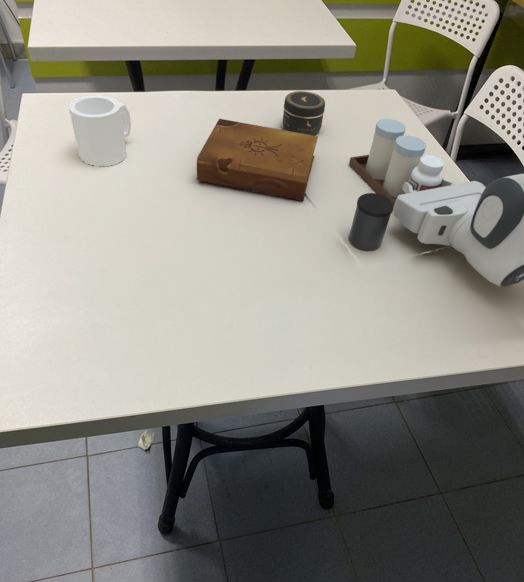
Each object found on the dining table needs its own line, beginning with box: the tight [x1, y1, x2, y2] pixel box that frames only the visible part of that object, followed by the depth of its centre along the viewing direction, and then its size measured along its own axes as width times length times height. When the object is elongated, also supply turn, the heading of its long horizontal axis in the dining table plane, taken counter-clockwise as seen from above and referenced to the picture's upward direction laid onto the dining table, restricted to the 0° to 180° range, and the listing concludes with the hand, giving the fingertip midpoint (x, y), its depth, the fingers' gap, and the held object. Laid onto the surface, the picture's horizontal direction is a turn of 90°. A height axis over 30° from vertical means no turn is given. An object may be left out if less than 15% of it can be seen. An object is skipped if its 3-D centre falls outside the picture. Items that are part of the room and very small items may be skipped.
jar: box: [282, 90, 326, 136], centre depth 121 cm, size 10×10×8 cm
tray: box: [348, 154, 397, 205], centre depth 108 cm, size 25×10×2 cm, turn 23°
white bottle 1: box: [365, 118, 407, 180], centre depth 108 cm, size 6×6×11 cm
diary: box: [196, 118, 318, 202], centre depth 108 cm, size 23×19×6 cm
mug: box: [68, 94, 132, 167], centre depth 106 cm, size 14×10×11 cm
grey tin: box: [348, 192, 394, 252], centre depth 93 cm, size 7×7×9 cm
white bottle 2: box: [383, 134, 427, 198], centre depth 104 cm, size 6×6×11 cm
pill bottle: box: [405, 154, 445, 194], centre depth 100 cm, size 6×6×11 cm
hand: (421, 182), depth 100 cm, fingers closed on pill bottle, 6 cm apart
